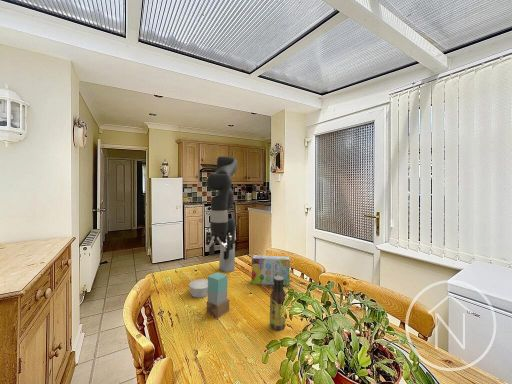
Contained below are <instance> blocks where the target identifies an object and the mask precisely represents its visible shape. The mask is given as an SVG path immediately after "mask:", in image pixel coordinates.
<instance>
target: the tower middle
mask: <svg viewBox="0 0 512 384" xmlns="http://www.w3.org/2000/svg"><path fill="white" fill-rule="evenodd" d="M227 299H228V288H227V289H226V290H224V291H222V292H221V293H219V294H217V293H214V292H212V291H209V290H208V295H207V301H208V302H210V303H212V304H215V305H217V306H218V305H220V304H221V303H223V302H225V301H226V300H227Z"/></svg>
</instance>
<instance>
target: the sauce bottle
mask: <svg viewBox="0 0 512 384" xmlns="http://www.w3.org/2000/svg"><path fill="white" fill-rule="evenodd" d="M273 281H274V285H273V290H272V291H271V293H270V298H269V299H270V300H269V326H270V327H271V329H274V330H277V331H281V330H283V329H285V327H286V321H287V320H286V318H284V317H280V310H281V306H282V302H283V299H284V297H285V296H286V297H287V295H286V292H285V290H284V286H283V282H284V278H283V277H282V276H275V277H274V279H273Z"/></svg>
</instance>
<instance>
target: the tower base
mask: <svg viewBox="0 0 512 384" xmlns="http://www.w3.org/2000/svg"><path fill="white" fill-rule="evenodd" d="M229 311H230V299H229V298H227V300H226V301H225V302H223V303H221V304H220V305H218V306H217V305H215V304H212V303H210V302H208V300H207V301H206V313H207V314H209V315H211V316H213V317H215V318H217V319H219V318H221V317H222V316H223V315H225V314H227V313H228V312H229Z"/></svg>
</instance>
